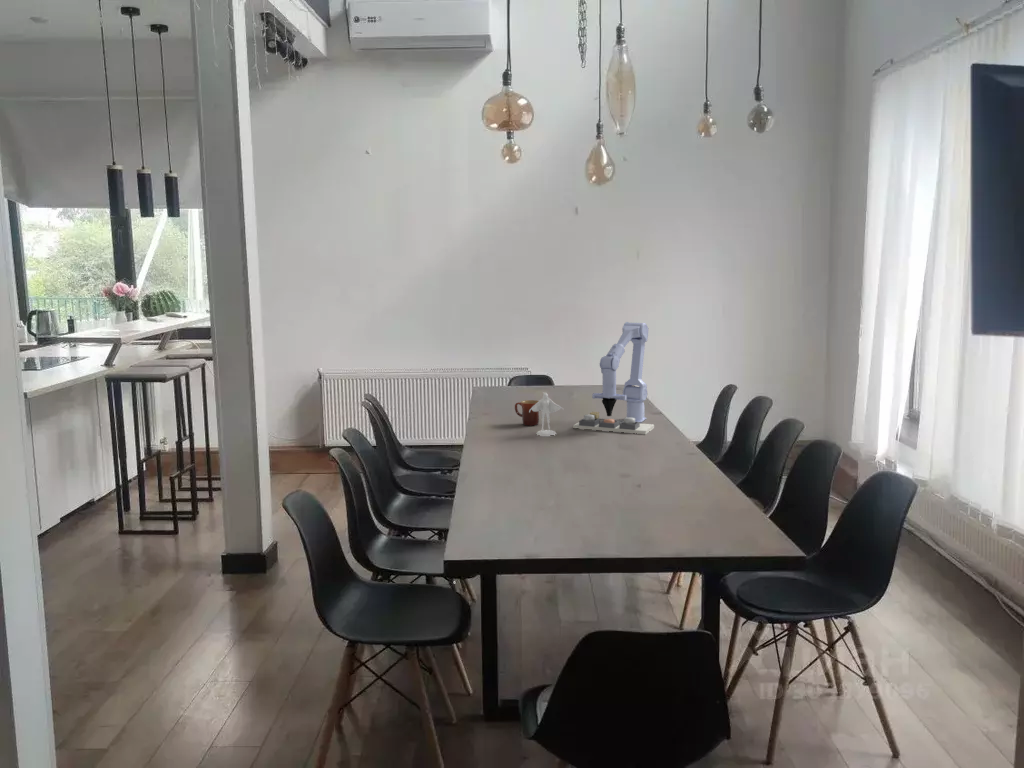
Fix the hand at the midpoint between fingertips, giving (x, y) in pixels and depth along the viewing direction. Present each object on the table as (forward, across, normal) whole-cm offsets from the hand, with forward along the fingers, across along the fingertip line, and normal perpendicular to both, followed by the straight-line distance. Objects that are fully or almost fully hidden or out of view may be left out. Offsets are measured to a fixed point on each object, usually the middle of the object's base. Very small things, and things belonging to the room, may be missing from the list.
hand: (609, 415), depth 344 cm
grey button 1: (+3, -9, 0) cm, 9 cm away
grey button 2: (+3, +9, 0) cm, 9 cm away
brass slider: (+4, -9, +7) cm, 12 cm away
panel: (+6, +1, +3) cm, 7 cm away
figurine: (+6, -22, -17) cm, 28 cm away
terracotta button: (+4, 0, 0) cm, 4 cm away
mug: (+6, -37, -3) cm, 38 cm away
